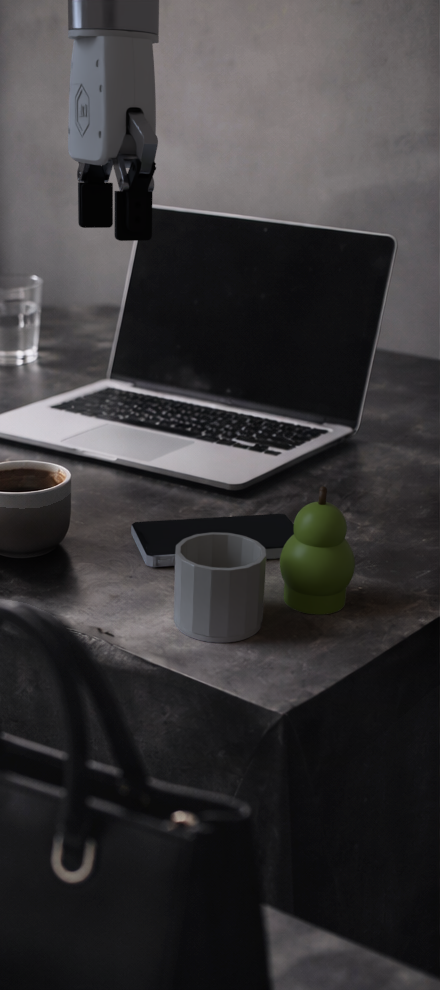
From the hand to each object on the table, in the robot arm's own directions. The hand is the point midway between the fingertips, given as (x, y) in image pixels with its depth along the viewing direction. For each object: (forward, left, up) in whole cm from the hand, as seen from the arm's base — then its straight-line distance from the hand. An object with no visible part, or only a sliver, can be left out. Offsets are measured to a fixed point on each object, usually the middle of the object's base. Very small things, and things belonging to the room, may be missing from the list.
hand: (113, 233), depth 87 cm
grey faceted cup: (+10, -23, -26) cm, 36 cm away
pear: (+18, -19, -26) cm, 37 cm away
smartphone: (+10, -9, -26) cm, 30 cm away
